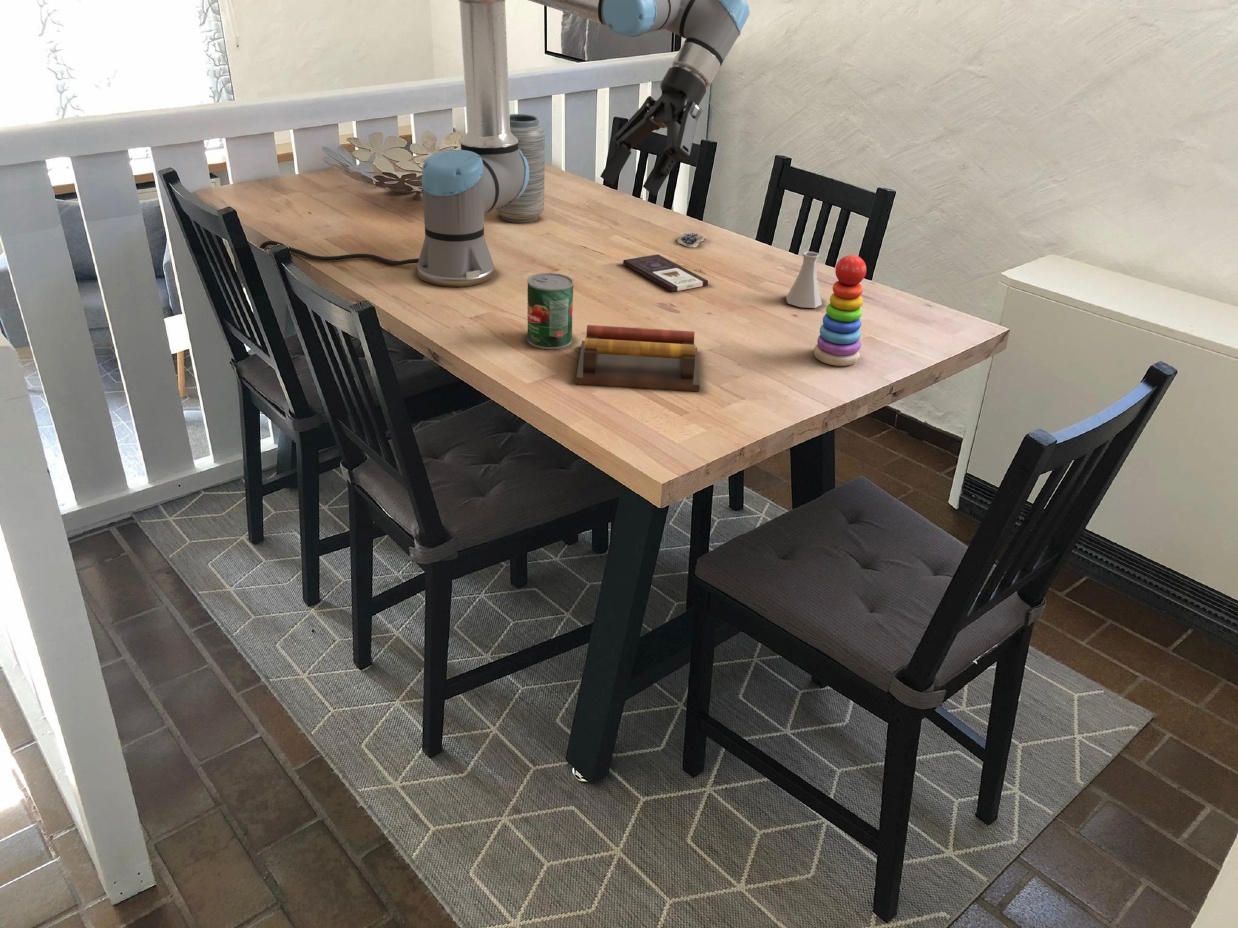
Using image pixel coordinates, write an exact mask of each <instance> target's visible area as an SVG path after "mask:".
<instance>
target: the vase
mask: <svg viewBox="0 0 1238 928" xmlns="http://www.w3.org/2000/svg"><path fill="white" fill-rule="evenodd" d="M510 131H511V133H512V134H513V135H514V136H515V137H516V138H517V139H518V148H519V150H520V151H521V152H522V155H523V156H524V157H526V159H527V162H528V166H529V181H528V184H527V187H526V189H525V191H524V192H523V193H522V195H521V196H520V197H518V198H517V199H515V200H514V201H513V202H512V203H510V204H508V205H506V206H502V207H499V208H497V209H495V210H496V212H497V213H498V214H499V215H500V217H501V219H502V220H504V221H505V222H510V223H516V224H525V223H527V224H528V223H532V222H535V221H537V220H538V218H539V216H541V215H542V213H543V212H544V210H545V174H546V173H545V171H546V170H545V169H546V167H545V165H546V162H545V161H546V131H545V129H544V127H543V126H542V124H540V119H539V117H537V116H535V115H532V114H523V113H510Z"/></svg>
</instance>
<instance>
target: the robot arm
mask: <svg viewBox="0 0 1238 928" xmlns="http://www.w3.org/2000/svg"><path fill="white" fill-rule="evenodd" d="M528 1H529V2H532V3H536V4H539V5H541V6H545V7H548V8H550V9H554V10H557V11H560V12H563V13H567V14H570V15H572V16H575V17H580V18H583V19H585V20H589V21H591V22H595V23H598V24H600V25H604V26H607V28H609V30H610V31H611V32H612V33H614V34H615V35H617V36H620V37H629V38H635V37H640V36H642V35H645V34H649V33H652V32H657V31H662V30H666V31H668V32H671V33H673V34H675V35H677V36H679V37H681V38H683V39H685V40H684V41H683V42H682V45H681V47H680V49H679V50H678V51H677V54H676V55H675V56H674V59H673V61H672V62H671V67H669V68H668V70H667V72H666V73H665V75H664V77H662V79H661V82H660V84H659V87H660V90H661V95H660V96H659V97H658V98H657V99H655V98H654V97H652V96H651V95H648V96H647V98H646V99H645V100H644V102H643V103H642V105H641V106H640V107H639V108H638V110H637V111H636V112H635V113H634V114H633V115H632V116H631V117H630V118H629V119H628V120H627V121H626V123H624V125H623V126H621V128H620V129H619V130H618V131H617V132H616V133H615V135H614V136H613V138H612V140H613V141H615V143H616V144H617V145H616V147H615V149H614V151H613V153H612V154H611V156H610V157H609V161H608V162H607V164H606V165H605V167H604V169H603V171H602V172H601V174H600V178H601V179H602V180H604V181H605V182H606V183H608V184H609V185H611V186H613V185H614V184H615V182H616V180H617V179H618V177H619V176H620V174H621V172H622V170H623V168H624V166H625V165H626V163H627V161H628V160H629V158H630V156H631V154H632V149H634V147H635V146H637V145H638V144H639V143H641V142H642V141H643V140H644V139H645V138H646V137H648V136H649V135H651V134H652V133H653V132H655V131H659V130H660V129H666V147H665V148H664V149H663V152H661V154H660V155H659V157H658V159H657V161H656V162H655V164H654V166H653V167H652V169H651V171H650V172H649V174H648V176H647V178H646V180H645V182H644V183H643V185H642V188H644V189H645V190H646V191H648V192H649V193H650V194H651V195H652V196H657V195H658V193H659V191H660V190H661V187H662V186H663V184H664V183H665V181H666V179H667V177H668V176H669V175H670V173H671V171H672V170H673V168H674V166H675V165H676V163H677V162H679V161H681V159H683V160H687V159H689V158H690V155H691V151H692V147H693V142H694V138H695V133H696V128H697V125H698V121H699V118H700V117H701V114H702V113H703V109H702V107H700V106H699V105H700V104H701V102H702V100H703V98H704V97H705V95H706V93H707V89H708V88H709V87H710V86H711V84H712V82H713V80H714V79H715V77H716V75H717V74H718V72H719V70H720V68H721V67H722V65H723V63H724V61H725V60H726V58H727V56H728V54H729V53H730V51H731V50H732V48H733V46H734V45H735V43H736V41H737V40H738V38H739V37H740V36H741V32H742V30H743V28H744V26H745V24H746V22H747V21H748V18H749V16H750V12H751V11H750V6H749V4H748V2H747V1H746V0H528ZM458 3H459V16H460V33H461V46H462V47H461V49H462V50H461V51H462V62H463V65H462V66H463V81H464V83H463V84H464V99H465V114H466V133H465V134H464V135H463V136H462V138H461V139H460V149H451V150H450V149H449V151H439V152H436V153H434V154H431V155H430V156H428V157H427V158H426V159H424V162H423V164H422V167H421V168H422V169H421V172H422V173H421V180H420V182H421V188H422V202H423V221H424V224H423V225H424V240H423V243H422V247H421V250H420V254H419V258H418V257H417V258H410V259H409V258H407V259H403V260H393V259H388V258H385V257H382V256H379V255H376V254H372V253H371V254H370V253H350V254H341V255H332V256H331V255H330V256H324V255H323V256H322V255H317V254H316V255H315V254H312V253H309V252H306V251H304V250H301V249H298V248H294V247H291V246H288V245H287V246H288V247H289V250H290V251H291V252H290V251H289V252H290V253H294V254H297V255H299V256H303V257H304V258H307V259H310V260H314V261H322V262H333V261H335V262H336V261H344V260H351V259H370V260H374V261H378V262H380V263H384V264H386V265H391V266H405V265H411V264H416V266H417V277H419V279H420V280H422V281H424V282H426V283H428V284H432V285H434V286H435V285H436V286H442V287H449V288H450V287H451V288H452V287H458V288H459V287H471V286H476V285H480V284H483V283H486V282H488V281H490V280H491V279H492V278H493V277H494V275H495V264H494V261H493V258H492V255H491V253H490V249H489V246H488V243H487V241H486V238H485V214H487V213H489V212H492V211H494V210H496V209H497V208H499V207H502V206H506V205H508V204H510V203H512V202H513V201H514V200H515V199H517V198H518V197H520V196H521V195H522V193H523V192H524V191H525V189H526V187H527V184H528V181H529V166H528V162H527V159H526V157H524V156H523V155H522V152H521V151H520V150H519V148H518V139H517V138H516V137H515V136H514V135H513V134H512V133H511V131H510V114H511V113H510V90H509V68H508V67H509V66H508V41H507V18H506V17H507V16H506V15H507V14H506V0H458ZM277 244H283V243H282V242H279V241H277V240H267V241H264V242H262V243H261V244H260V245H259V249H265V248H266V247H268V246H275V245H277Z"/></svg>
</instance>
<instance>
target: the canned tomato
mask: <svg viewBox="0 0 1238 928" xmlns="http://www.w3.org/2000/svg"><path fill="white" fill-rule="evenodd" d="M526 291H527V299H526V300H527V317H526V318H527V325H526V326H527V329H526V331H527V339H526V341H527V342H528V344H529V345H531V346H533V347H535V348H537V349H542V350H560V349H564V348H567V347H569V346H570V345H571V344H572V343H573V339H572V338H573V313H574V312H573V309H574V308H573V307H574V280H573V278H571V277H570V276H568V275H565V274H562V273H554V272H543V273H542V272H541V273H536V274H532V275H531V276H529V277H528V278H527V290H526Z"/></svg>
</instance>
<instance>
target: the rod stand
mask: <svg viewBox="0 0 1238 928" xmlns="http://www.w3.org/2000/svg"><path fill="white" fill-rule="evenodd" d="M695 336H696V335H695V331H694V330H693V331H692V330H680V329H679V330H678V329H662V328H661V329H660V328H647V327H646V328H645V327H631V326H630V327H629V326H612V325H598V324H597V325H596V324H587V325H586V335H585V338H584V340H582V341H581V346H580V350H579V357H578V363H577V369H576V374H575V384H576V385H585V386H587V385H588V386H603V387H604V386H605V387H620V388H635V389H650V390H651V389H652V390H653V389H654V390H668V391H684V392H700V390H701V389H700V388H701V383H700V382H701V381H700V369H699V367H700V366H699V357H698V348H697V347H696V346H697V345H696V344H695Z"/></svg>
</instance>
